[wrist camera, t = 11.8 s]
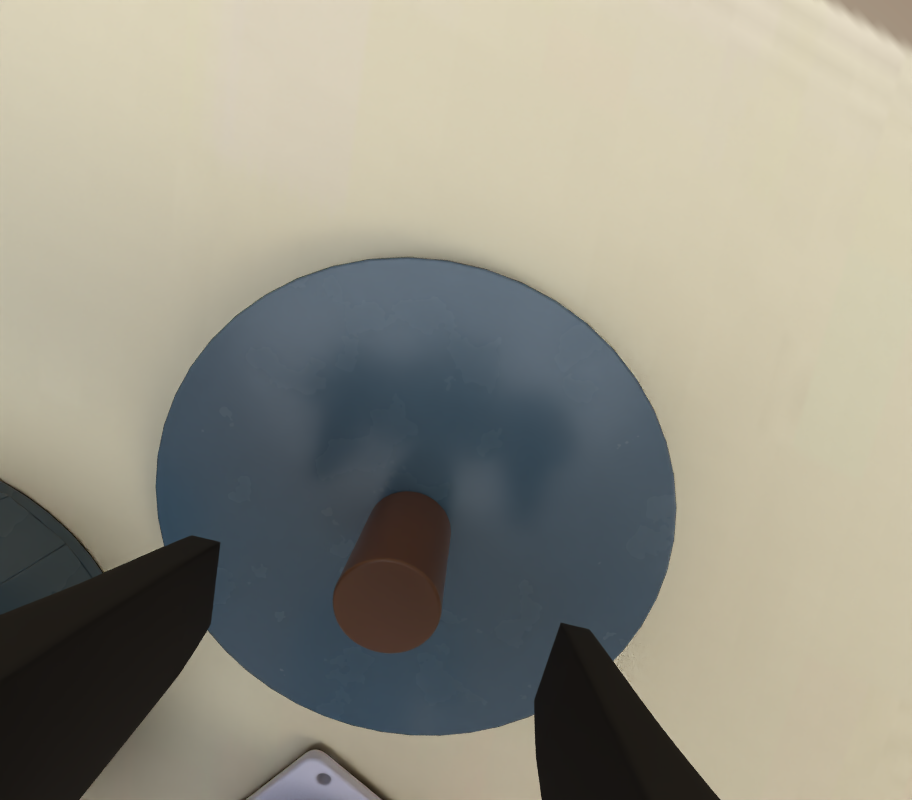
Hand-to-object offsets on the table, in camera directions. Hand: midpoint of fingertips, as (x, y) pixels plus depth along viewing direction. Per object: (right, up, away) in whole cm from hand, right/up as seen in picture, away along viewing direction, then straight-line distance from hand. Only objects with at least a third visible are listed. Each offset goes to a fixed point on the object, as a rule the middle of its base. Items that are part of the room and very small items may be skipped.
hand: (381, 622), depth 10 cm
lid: (0, +1, +4) cm, 4 cm away
